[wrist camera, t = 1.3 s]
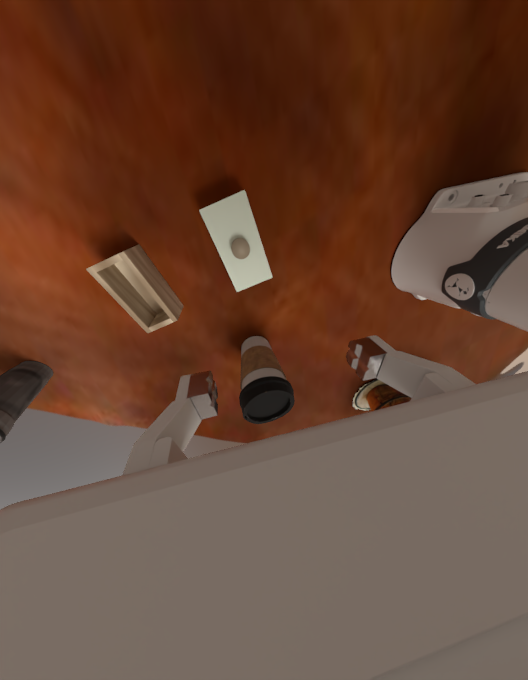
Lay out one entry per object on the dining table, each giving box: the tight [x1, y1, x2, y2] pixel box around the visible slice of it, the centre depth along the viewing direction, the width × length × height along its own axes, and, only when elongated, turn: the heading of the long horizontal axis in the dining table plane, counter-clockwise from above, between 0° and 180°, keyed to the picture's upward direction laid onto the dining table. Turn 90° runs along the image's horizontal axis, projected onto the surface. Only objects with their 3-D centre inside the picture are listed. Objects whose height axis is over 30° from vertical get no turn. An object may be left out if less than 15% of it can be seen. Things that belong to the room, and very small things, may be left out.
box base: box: [86, 245, 183, 333], centre depth 26 cm, size 5×10×5 cm, turn 20°
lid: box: [199, 190, 273, 292], centre depth 26 cm, size 6×11×5 cm, turn 19°
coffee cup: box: [239, 336, 294, 424], centre depth 33 cm, size 8×8×15 cm
